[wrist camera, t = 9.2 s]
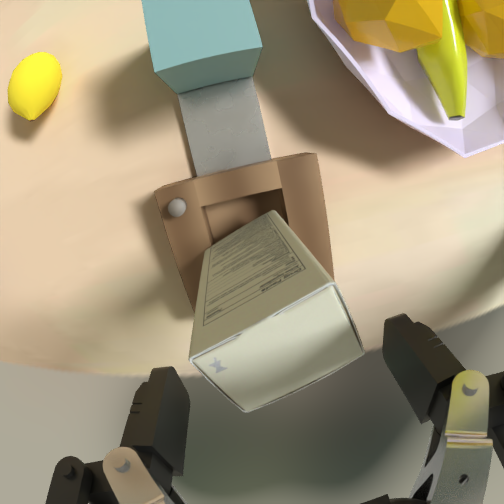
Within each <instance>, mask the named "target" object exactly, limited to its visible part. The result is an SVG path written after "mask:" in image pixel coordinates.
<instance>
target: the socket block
mask: <svg viewBox="0 0 504 504" xmlns="http://www.w3.org/2000/svg"><path fill="white" fill-rule="evenodd" d="M154 193H155V196H156V200H157V203H158V207H159V210H160V213H161V217H162V220H163V223H164V226H165V230H166V233H167V236H168V239H169V242H170V245H171V248H172V251H173V254H174V257H175V260H176V263H177V266H178V269H179V272H180V275H181V278H182V281H183V284H184V286H185V289H186V292H187V295H188V297H189V300H190V303H191V305H192V308H193V311H194V313H195V309H196V302H197V296H198V289H199V283H200V277H201V271H202V264H203V258H204V253H205V250H207V249H208V248H210V247H211V246H213V245H214V244H216V243H217V242H219V241H220V240H222V239H223V238H225V237H227V236H228V235H230V234H231V233H233V232H235V231H236V230H238V229H240V228H241V227H243V226H245V225H246V224H248V223H250V222H251V221H253V220H255V219H257V218H258V217H260V216H262V215H264V214H266V213H268V212H269V211H272V210H275V211H276V212H277V213H278V214H279V215H280V217H281V218H282V219H283V220H284V221H285V222H286V224H287V225H288V226H289V227H290V228H291V229H292V231H293V232H294V233H295V234H296V235H297V236H298V238H299V239H300V240H301V241H302V242H303V244H304V245H305V246H306V247H307V248H308V250H309V251H310V252H311V253H312V254H313V256H314V257H315V258H316V259H317V260H318V262H319V263H320V264H321V265H322V267H323V268H324V269H325V270H326V271H327V273H328V274H329V275H330V276H331V277H332V279H333V280H334V272H333V262H332V253H331V245H330V236H329V229H328V221H327V214H326V207H325V200H324V194H323V188H322V182H321V176H320V170H319V164H318V159H317V154H316V153H300V154H295V155H289V156H284V157H279V158H274V159H271V160H266V161H261V162H257V163H252V164H247V165H243V166H239V167H234V168H230V169H226V170H222V171H218V172H214V173H210V174H206V175H202V176H198V177H197V176H196V177H193V178H189V179H185V180H182V181H178V182H175V183H171V184H168V185H164V186H162V187H161V188H159V189H157V190H156V191H154Z"/></svg>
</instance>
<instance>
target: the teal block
mask: <svg viewBox="0 0 504 504" xmlns="http://www.w3.org/2000/svg"><path fill="white" fill-rule="evenodd" d="M142 6H143V12H144V18H145V24H146V30H147V36H148V42H149V47H150V52H151V58H152V63H153V68H154V73H156V74H157V75H158V76H159V77H160V78H161V79H162V80H163V81H164V82H165V83H166V84H167V85H168V86H169V87H170V88H171V89H172V90H173V91H174V92H175V93H176V94H178V93H182V92H185V91H189V90H193V89H196V88H200V87H204V86H208V85H212V84H217V83H221V82H225V81H230V80H235V79H240V78H245V77H251V76H253V74H254V71H255V68H256V65H257V62H258V59H259V56H260V54H261V51H262V48H263V46H262V42H261V38H260V35H259V31H258V28H257V24H256V21H255V18H254V14H253V11H252V8H251V4H250V1H249V0H142Z"/></svg>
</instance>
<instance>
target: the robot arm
mask: <svg viewBox="0 0 504 504" xmlns="http://www.w3.org/2000/svg"><path fill="white" fill-rule="evenodd" d="M382 350H383V357H384V360H385V362H386V364H387V366H388V368H389V369H390V371H391V373H392V374H393V376H394V378H395V379H396V381H397V382H398V384H399V386H400V388H401V389H402V391H403V393H404V394H405V396H406V398H407V400H408V401H409V403H410V405H411V407H412V408H413V410H414V412H415V414H416V415H417V417H418V419H419V421H420V423H421V424H422V423H424V422H427V421H428V420H431V421H432V422H433V424H434V425H433V428H432V431H431V435H430V440H429V444H428V447H427V451H426V455H425V458H424V462H423V465H422V468H421V471H420V473H419V476H418V478H417V479H416V482H415V484H414V486H413V488H412V491H411V493H410V496H409V498H394V499H389V497H388V494H386V495H383V496H381V497H378V498H376V499H373V500H370V501H367V502H364V503H361V504H482V503H483V499H484V494H485V490H486V486H487V481H488V475H489V470H490V464H491V457H492V449H493V448H494V449H495V452H496V454H497V455H498V458H499V460H500V461H501V463H502V466H503V468H504V372H500V373H496V374H493V375H489V376H484V375H483V374H482V373H480V372H478V371H475V370H466V369H465V368H464V367H463V366H462V365H461V363H460V362H459V361H458V360H457V359H456V358H455V357H454V355H453V354H452V353H451V352H450V350H449V349H448V348H447V347H446V346H445V345H443V342H442V341H441V340H440V339H439V338H437V336H436V334H435V333H434V332H433V331H432V330H431V329H430V328H429V327H428V326H426V325H424V324H422V323H420V322H416V323H413V322H412V321H411V319H410V318H409V317H408V316H407V315H406V314H404V313H403V314H400V315H397V316H394V317H391V318H388V319H386V320H385V323H384V336H383V349H382ZM189 411H190V399H189V395H188V392H187V390H186V389H185V387H184V385H183V383H182V381H181V380H180V378H179V376H178V374H177V372H176V370H175V369H174V367H172V366H170V367H161V368H153V369H152V371H151V374H150V378H149V381H148V382H144V383H142V385H141V386H140V387H139V389H138V390H137V391H136V393H135V396H134V399H133V405H132V406H131V409H130V414H129V416H128V420H127V423H126V426H125V430H124V434H123V437H122V441H121V444H120V447H118V448H115V449H113V450H111V451H110V452H109V453H108V454H107V455H106V456H105V458H104V460H102V461H98V462H92V463H86V464H84V463H83V462H82V461H81V460H79V459H78V458H76V457H73V456H68V457H65V458H63V459H61V460H60V461H59V462H58V463H57V465H56V467H55V471H54V473H53V477H52V481H51V484H50V488H49V492H48V496H47V500H46V504H88V503H89V504H187V502H186V501H185V500H184V499H183V498H182V496H181V495H180V494H179V492H178V491H177V490H176V489H175V487H174V486H173V485H172V476H183V469H184V458H185V448H186V438H187V428H188V420H189Z"/></svg>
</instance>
